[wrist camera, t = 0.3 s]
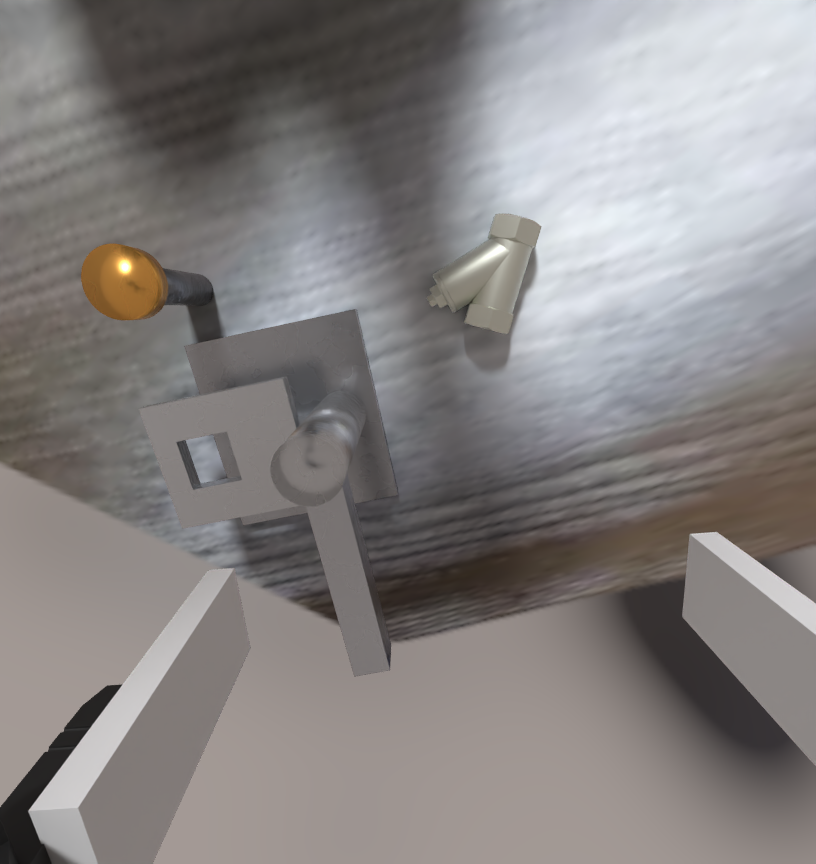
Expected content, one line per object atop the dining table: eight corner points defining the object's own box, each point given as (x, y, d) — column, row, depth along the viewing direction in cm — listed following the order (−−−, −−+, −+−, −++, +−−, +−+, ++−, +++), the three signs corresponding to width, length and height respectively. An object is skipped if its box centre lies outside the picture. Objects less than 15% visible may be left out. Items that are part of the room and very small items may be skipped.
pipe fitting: (423, 312, 38) (503, 333, 38) (421, 311, 34) (509, 335, 34) (450, 209, 36) (534, 231, 36) (451, 196, 32) (544, 222, 32)
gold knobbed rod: (163, 268, 36) (69, 252, 26) (215, 256, 36) (140, 236, 26) (181, 321, 37) (97, 326, 27) (231, 311, 37) (165, 312, 27)
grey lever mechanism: (178, 347, 38) (37, 371, 23) (356, 309, 37) (325, 309, 23) (258, 588, 44) (185, 727, 29) (413, 559, 43) (417, 687, 29)
